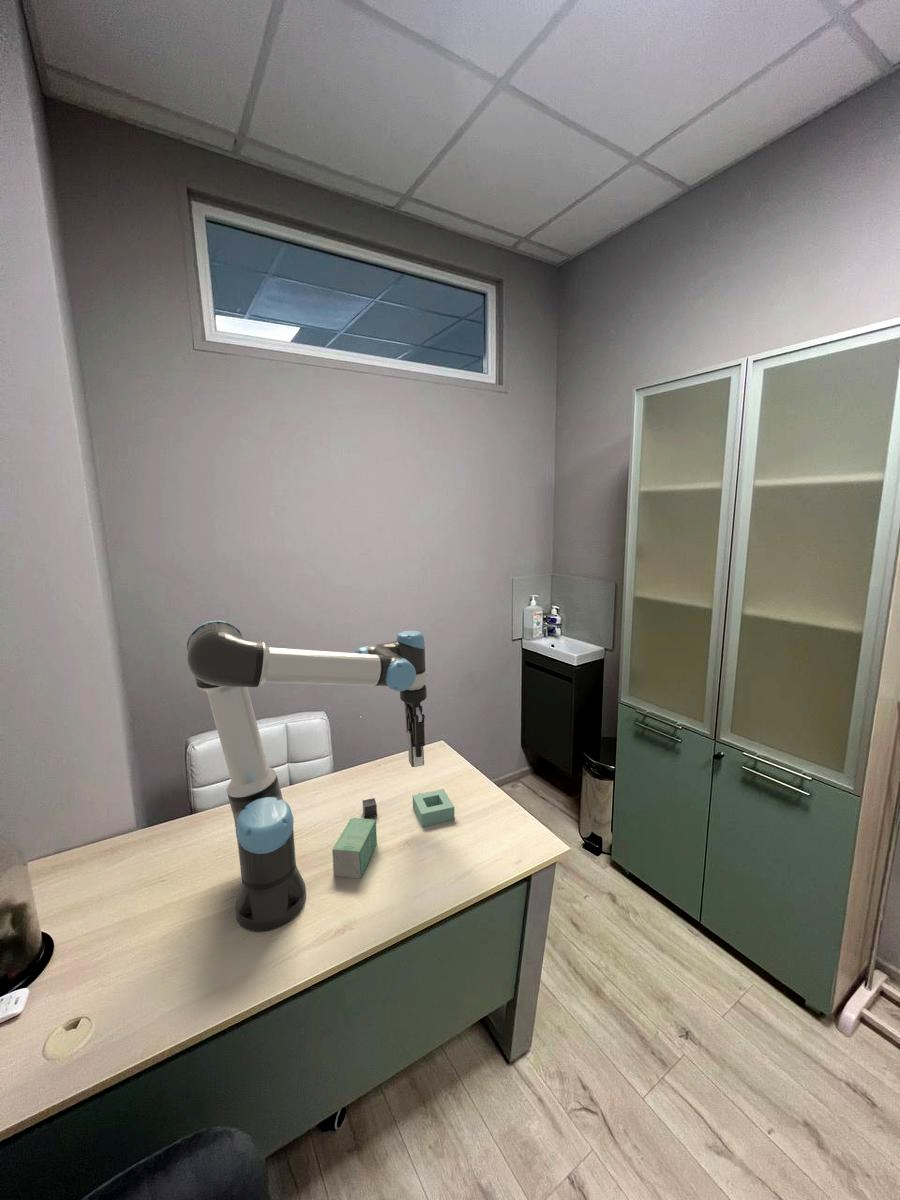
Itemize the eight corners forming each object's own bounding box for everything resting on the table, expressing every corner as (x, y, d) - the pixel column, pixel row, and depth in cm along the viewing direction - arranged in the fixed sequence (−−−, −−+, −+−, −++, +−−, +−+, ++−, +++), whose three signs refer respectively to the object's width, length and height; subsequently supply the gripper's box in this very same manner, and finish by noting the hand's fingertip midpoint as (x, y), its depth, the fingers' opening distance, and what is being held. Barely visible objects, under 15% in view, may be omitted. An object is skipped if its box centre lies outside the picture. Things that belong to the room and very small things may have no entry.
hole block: (454, 819, 139) (454, 806, 139) (421, 826, 136) (421, 814, 135) (443, 800, 149) (443, 788, 148) (412, 807, 145) (412, 795, 145)
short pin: (377, 816, 141) (376, 804, 140) (364, 819, 140) (364, 807, 139) (374, 809, 144) (374, 798, 144) (363, 812, 143) (362, 800, 143)
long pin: (424, 765, 137) (422, 732, 135) (412, 768, 136) (410, 734, 134) (420, 759, 140) (419, 727, 139) (408, 762, 139) (407, 729, 137)
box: (377, 842, 130) (376, 817, 129) (361, 879, 117) (359, 852, 115) (352, 840, 131) (350, 815, 130) (333, 876, 118) (331, 849, 116)
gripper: (434, 693, 127) (437, 773, 131) (417, 674, 143) (420, 747, 147) (407, 697, 125) (411, 779, 129) (393, 678, 141) (397, 751, 145)
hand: (416, 762), depth 138 cm, fingers closed on long pin, 4 cm apart
